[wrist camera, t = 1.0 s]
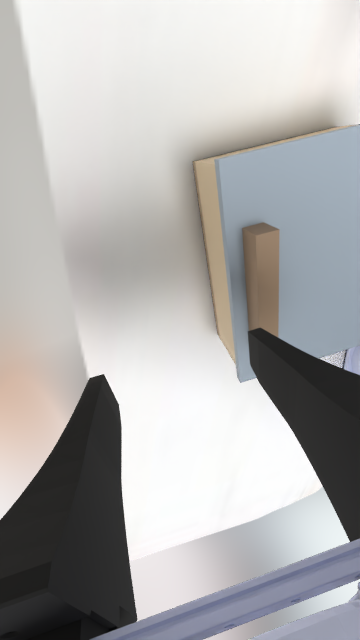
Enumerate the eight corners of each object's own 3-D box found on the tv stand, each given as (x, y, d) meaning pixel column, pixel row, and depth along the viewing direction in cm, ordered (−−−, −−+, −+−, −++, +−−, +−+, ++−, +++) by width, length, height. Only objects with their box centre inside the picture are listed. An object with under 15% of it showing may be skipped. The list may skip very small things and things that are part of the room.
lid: (363, 338, 22) (386, 355, 20) (237, 377, 21) (249, 398, 19) (415, 110, 14) (463, 104, 12) (214, 159, 13) (231, 160, 11)
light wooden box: (317, 304, 26) (357, 334, 22) (217, 334, 25) (239, 370, 21) (336, 127, 18) (403, 119, 14) (192, 161, 17) (219, 164, 13)
